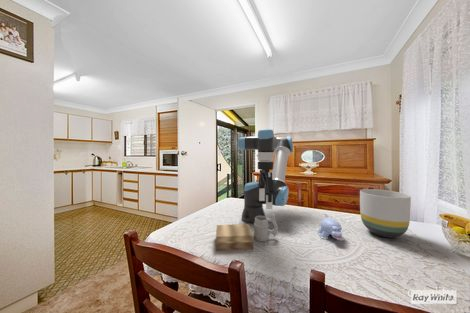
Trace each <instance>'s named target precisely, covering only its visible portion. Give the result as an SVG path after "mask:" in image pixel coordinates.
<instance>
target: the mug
mask: <svg viewBox="0 0 470 313" xmlns="http://www.w3.org/2000/svg"><path fill="white" fill-rule="evenodd" d="M265 216H266V215H265ZM265 216H256V217H255V223H253V226H254V230H253V232H252V234H253V239H255V240H256V241H258V242H266V241H268V240H269V237H270V234H271V235H272V236H273V237H276V235H277V234H278V229H279V226H278V224H277V221H276V218H275V214H274V213H273V214H272V215H271V217H270V218H269V217H268V216H266V217H265ZM269 222H271V223H272V224H273V228H272V229H270V228H269V227H270V225H269V224H270V223H269Z"/></svg>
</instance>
